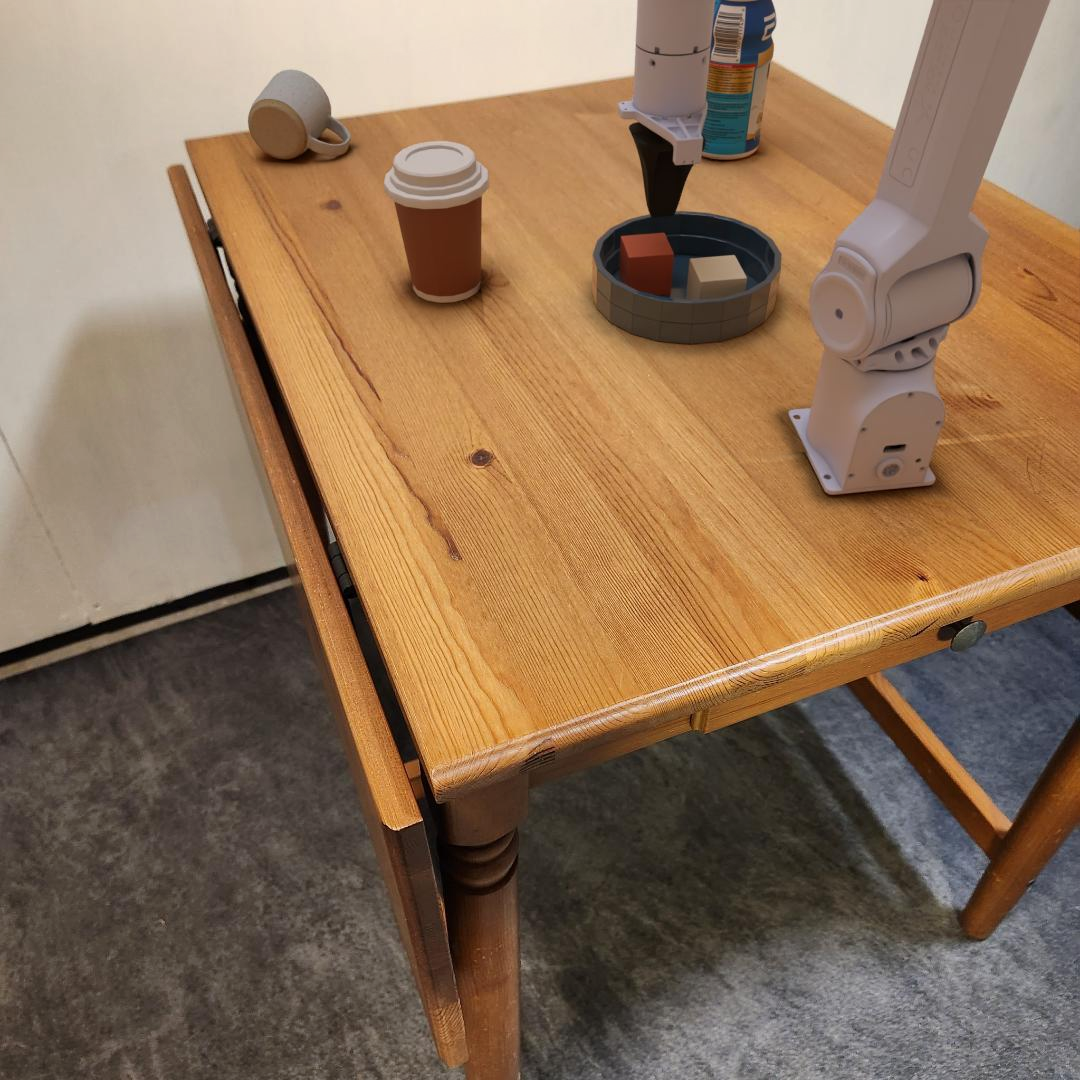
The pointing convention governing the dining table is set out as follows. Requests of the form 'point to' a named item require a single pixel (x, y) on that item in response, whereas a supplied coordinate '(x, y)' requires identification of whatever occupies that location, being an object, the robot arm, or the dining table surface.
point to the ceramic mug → (294, 117)
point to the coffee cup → (440, 217)
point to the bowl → (674, 312)
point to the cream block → (714, 277)
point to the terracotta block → (646, 263)
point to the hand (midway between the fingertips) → (661, 213)
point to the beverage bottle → (738, 77)
